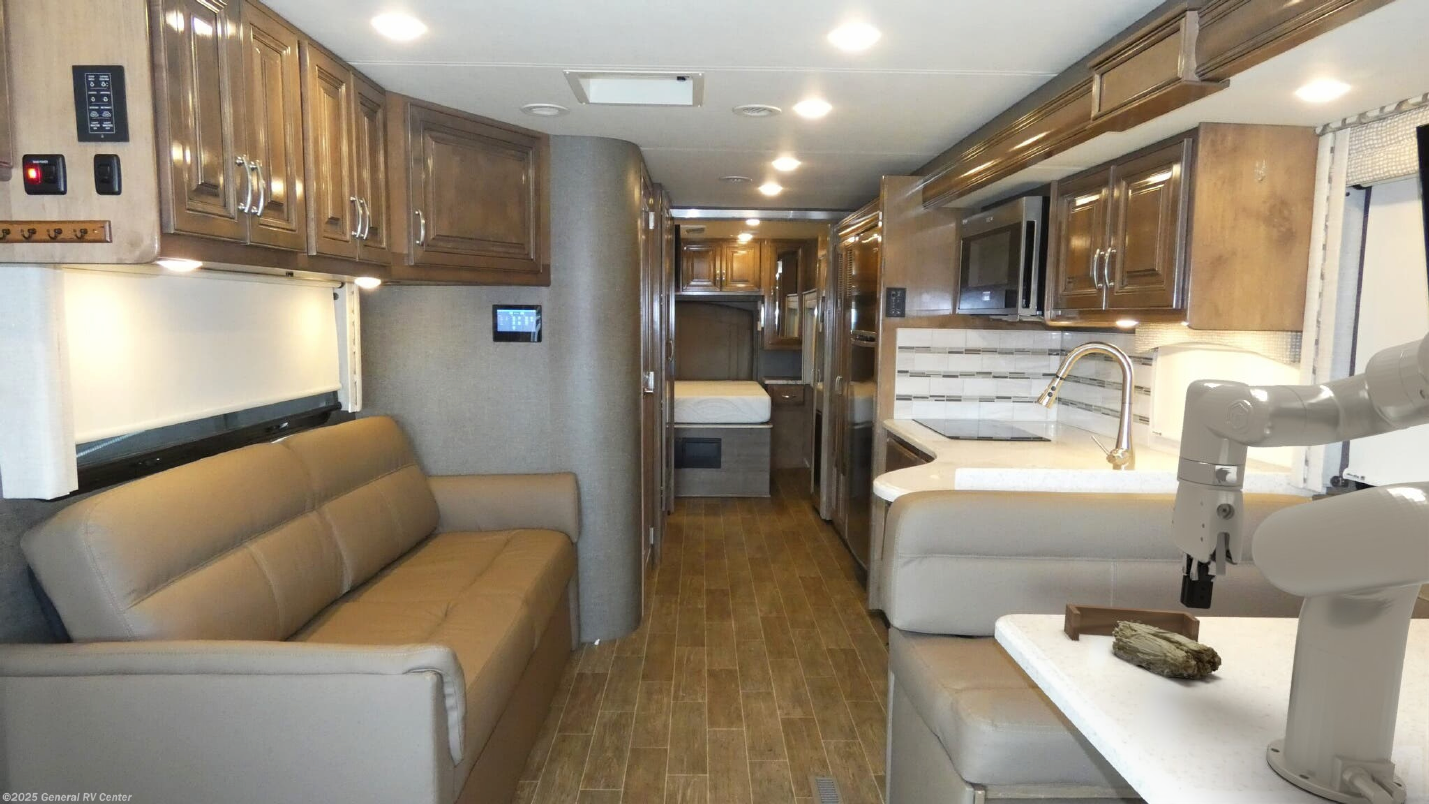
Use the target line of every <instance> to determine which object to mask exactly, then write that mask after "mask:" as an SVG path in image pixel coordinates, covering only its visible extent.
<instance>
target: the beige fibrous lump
mask: <svg viewBox="0 0 1429 804" xmlns="http://www.w3.org/2000/svg"><path fill="white" fill-rule="evenodd" d="M1131 621H1132V620H1131ZM1132 622H1133V621H1132ZM1138 622H1139V623H1141V622H1140V621H1138ZM1139 623H1131V622H1126V621H1123V622H1120V621H1117V624H1118V625H1119V626H1118V628H1115V629H1114V631H1113V632H1112V635H1113V636H1112V637H1114V639H1115V640H1113V641H1112V645H1111V647H1112V649H1113V651H1114V653H1115V655H1116V656H1117V657H1118V658H1120V659H1121V660H1123V661H1124V662H1127V663H1128V664H1132V665H1134V666H1138V665H1139V666H1143V667H1144V668H1145V669H1146V670H1147V669H1148V671H1150V670H1152V671H1151V672H1152V673H1155V672H1157V673H1156V674H1158V673H1159V674H1158V675H1161V674H1162V675H1161V676H1164V675H1165V676H1164V677H1167V676H1168V677H1171V678H1184V679H1191V680H1192V679H1193V680H1198V679H1202V678H1205V677H1206V676H1209V674H1211V673H1213V672H1216V671H1218V670H1219V668H1220V666H1222V658H1221V656H1219V654H1218V652H1217V650H1216V651H1215V649H1214V647H1212V646H1207V645H1206V644H1203V643H1199V642H1198V643H1197V642H1196V641H1195V640H1190V639H1188V638H1186V637H1184V636H1182V635H1179V634H1177V633H1171V632H1168V631H1164V630H1161V629H1159V628H1157V627H1156V628H1154V627H1152V626H1149V625H1144V624H1139Z"/></svg>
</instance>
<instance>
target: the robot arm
mask: <svg viewBox="0 0 1429 804" xmlns="http://www.w3.org/2000/svg"><path fill="white" fill-rule="evenodd" d="M1427 424H1428V425H1429V331H1428V332H1427V333H1426V334H1425V335H1424V337H1423V338H1422V339H1417V340H1414V341H1409V342H1406V343H1404V344H1399V345H1395V346H1394V345H1393V346H1390V347H1387V348H1384V349H1381V350H1379V351H1377V352H1376V353H1374V354H1373V355H1372V356H1371V357H1370V358H1369V360H1368V362H1367V363H1366V365H1365V369H1364V372H1362V373H1358V374H1355V375H1354V374H1353V375H1352V376H1347V377H1343V378H1340V379H1339V378H1338V379H1335V380H1330V381H1327V382H1322V383H1318V384H1312V385H1311V384H1309V385H1304V384H1303V385H1302V384H1299V385H1298V384H1297V385H1296V384H1286V385H1282V384H1275V385H1249V384H1247V383H1245V382H1241V381H1235V380H1226V379H1212V378H1210V379H1205V378H1204V379H1196V380H1193V381H1192V382H1190V383H1189V385H1188V386H1187V389H1186V394H1185V401H1184V411H1183V422H1182V429H1181V430H1182V431H1181V437H1180V438H1181V439H1180V446H1179V447H1180V448H1179V456H1178V465H1177V473H1176V481H1177V482H1178V484H1177V485H1178V486H1177V489H1176V495H1175V501H1174V505H1173V512H1172V517H1171V527H1170V540H1171V542H1172V543H1173V544H1174V545H1175V546H1176V548H1177V549H1176V550H1177V552H1178V553H1179V554H1180V555H1181V559H1182V560H1181V561H1182V562H1181V573H1182V574H1183V575H1182V581H1181V588H1180V589H1181V591H1180V596H1179V602H1180V603H1181V604H1182V605H1183V606H1184V607H1186V608H1190V609H1199V610H1200V609H1203V610H1209V609H1210V608H1211V604H1212V598H1213V596H1212V595H1213V589H1214V582H1216V581H1217V576H1220V577H1221V576H1222V577H1225V575H1226V573H1227V570H1226V569H1227V567H1226V564H1230V565H1232V566H1237V565H1239V564H1240V563H1241V560H1242V554H1243V544H1244V543H1243V541H1244V540H1243V539H1244V526H1245V525H1244V521H1245V514H1244V513H1245V508H1244V507H1245V505H1244V495H1243V489H1244V488H1243V487H1244V480H1245V479H1244V478H1245V471H1246V462H1247V456H1248V448H1249V447H1250V448H1279V447H1280V448H1281V447H1313V446H1314V447H1315V446H1323V445H1330V444H1336V443H1341V442H1346V441H1353V440H1358V439H1365V438H1367V437H1368V438H1369V437H1373V436H1374V437H1375V436H1378V435H1379V436H1380V435H1383V434H1387V433H1393V432H1397V431H1401V430H1402V431H1404V430H1407V429H1409V428H1411V427H1413V428H1414V427H1418V426H1421V425H1427ZM1250 548H1251V549H1250V551H1251V557H1252V560H1253V562H1254V566H1255V567H1256V569H1257V570H1258V572H1259V573H1260V574H1261V575H1262V577H1264V579H1265V580H1267V581H1268V583H1270V584H1271V585H1273V586H1275V587H1276V588H1277V589H1279V590H1281V591H1283V592H1284V593H1285V592H1286V593H1288V594H1291V595H1294V596H1299V597H1304V598H1303V602H1302V605H1301V607H1300V611H1299V615H1298V619H1297V620H1298V621H1297V629H1296V636H1295V643H1294V654H1293V662H1292V670H1291V681H1290V689H1289V698H1288V705H1287V706H1288V707H1287V714H1286V715H1287V717H1286V726H1285V732H1284V733H1285V734H1284V735H1285V736H1284V738H1280V739H1276V740H1274V741H1271V742H1270V743H1269V744H1268V745H1267V748H1266V754H1265V755H1266V760H1267V763H1268V764H1269V766H1271V768H1272V769H1273V770H1274V771H1275V772H1276V773H1278V775H1280V776H1281V777H1283V778H1284V779H1285V780H1288V782H1290V783H1291V784H1294V785H1296V786H1298V787H1300V788H1301V789H1303V790H1305V791H1307V792H1309V793H1312V794H1314V795H1317V796H1320V797H1323V798H1325V799H1328V800H1332V801H1334V802H1338V803H1341V804H1403V803H1404V801H1405V800H1406V798H1407V787H1406V784H1405V783H1404V781H1403V780H1402V779H1401V777H1399V776H1398V774H1396V773H1395V770H1396V764H1395V763H1394V762H1393V761H1392V756H1393V754H1392V753H1393V748H1394V741H1395V740H1394V738H1395V733H1396V731H1395V730H1396V725H1397V724H1396V723H1397V717H1398V709H1399V701H1400V695H1401V694H1400V693H1401V686H1402V679H1403V678H1402V677H1403V671H1404V663H1405V657H1406V652H1407V651H1406V650H1407V641H1408V636H1409V629H1410V624H1411V620H1412V615H1413V611H1414V608H1415V604H1416V601H1417V599H1418V596H1419V594H1420V591H1421V588H1422V586H1423V585H1427V584H1428V585H1429V480H1427V481H1426V480H1425V481H1408V482H1398V483H1396V482H1395V483H1390V484H1384V485H1379V486H1374V487H1373V486H1372V487H1368V488H1364V489H1358V490H1355V491H1350V492H1346V493H1342V494H1338V495H1334V496H1331V497H1330V496H1329V497H1325V498H1322V499H1317V500H1312V501H1309V502H1305V503H1304V502H1303V503H1300V504H1295V505H1292V506H1291V505H1290V506H1286V507H1284V508H1281V509H1279V510H1276V511H1274V512H1273V513H1271V514H1270V515H1268V516H1266V518H1265V519H1263V520H1262V521H1261V523H1259V525H1258V526H1257V528H1256V529H1255V531H1254V534H1253V536H1252V539H1251V547H1250ZM1226 562H1227V563H1226Z"/></svg>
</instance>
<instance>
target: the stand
mask: <svg viewBox="0 0 1429 804" xmlns="http://www.w3.org/2000/svg"><path fill="white" fill-rule="evenodd" d="M1131 620H1132V621H1133V622H1132V621H1131ZM1117 621H1120V622H1123V621H1126V622H1131V623H1139V622H1138V621H1140V622H1141V623H1139V624H1144V625H1149V626H1152V627H1154V628H1156V627H1157V628H1159V629H1161V630H1164V631H1168V632H1171V633H1177V634H1179V635H1182V636H1184V637H1186V638H1188V639H1190V640H1195V641H1196V642H1197V643H1199V634H1200V625H1201V623H1200V619H1199V618H1197V617H1195V616H1194V615H1193V614H1192V613H1191V612H1189V611H1185V610H1167V609H1153V608H1152V609H1151V608H1137V607H1136V608H1135V607H1121V606H1120V607H1119V606H1118V607H1117V606H1101V605H1087V604H1086V605H1084V604H1074V603H1073V604H1072V603H1066V604H1065V613H1064V626H1063V631H1064V632H1065V633H1066V635H1067V636H1068V637H1069V638H1070V640H1071V641H1079V640H1080V635H1094V636H1095V635H1097V636H1112V637H1114V636H1113V635H1112V632H1113V631H1114V629H1115V628H1118V626H1119V625H1118V624H1117Z"/></svg>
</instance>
